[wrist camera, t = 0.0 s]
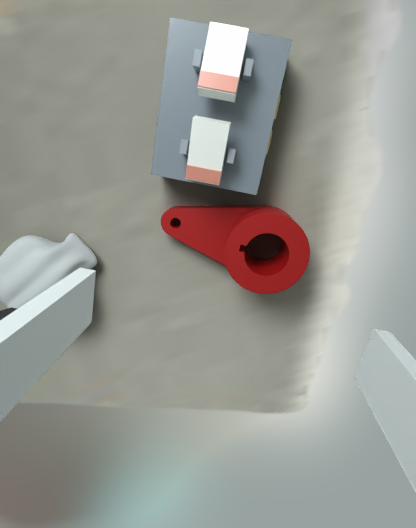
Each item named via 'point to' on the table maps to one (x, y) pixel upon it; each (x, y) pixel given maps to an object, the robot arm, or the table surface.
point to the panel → (219, 105)
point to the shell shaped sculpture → (39, 266)
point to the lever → (243, 242)
